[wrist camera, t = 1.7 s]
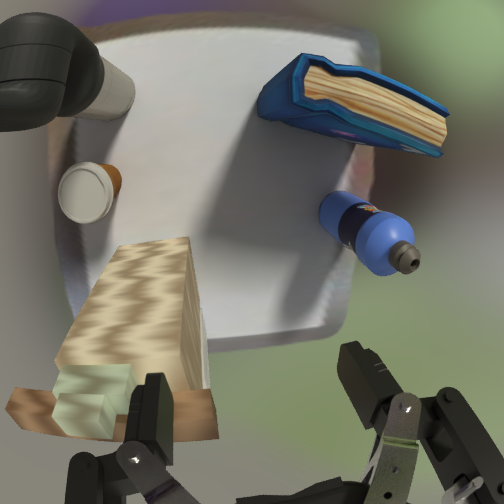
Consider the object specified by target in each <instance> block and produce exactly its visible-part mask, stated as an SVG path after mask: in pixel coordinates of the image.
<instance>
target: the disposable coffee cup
mask: <svg viewBox="0 0 504 504" xmlns="http://www.w3.org/2000/svg"><path fill="white" fill-rule="evenodd" d="M121 183H122V178H121V175H120V172H119V171H118V170H117V169H116V168H115V167H114V166H112V165H108V164H95V163H92V162H79V163H77V164H74V165H72V166H71V167H70V168H69V169H67V170H66V172H65V173H64V175H63V176H62V178H61V181H60V184H59V187H58V201H59V204H60V207H61V209H62V211H63V212H64V214H65V215H66V216H67V217H68V218H70V219H71V220H73V221H75V222H78V223H83V224H91V223H95V222H97V221H99V220H101V219H102V218H103V217H104V216H105V215H106V214H107V212H108V211H109V209H110V207H111V205H112V202H113V199H114V198H115V196H116V194H117V193H118V191H119V190H120V188H121Z"/></svg>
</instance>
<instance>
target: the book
mask: <svg viewBox="0 0 504 504" xmlns="http://www.w3.org/2000/svg"><path fill="white" fill-rule="evenodd" d="M257 106H258V117H260V118H263V119H266V120H269V121H277V120H280V121H282V122H284V123H286V124H288V125H290V126H292V127H295V128H299V129H303V130H307V131H311V132H315V133H319V134H322V135H326V136H330V137H334V138H337V139H341V140H345V141H348V142H352V143H355V144H361V145H368V146H375V147H382V148H389V149H394V150H401V151H406V152H411V153H417V154H422V155H427V156H432V157H436V158H439V157H440V156H441V155H443V152H442V150H441V148H440V147H441V145H442V143H443V141H444V139H445V137H446V135H447V130H446V123H445V117H447V116H449V115H450V114H449V112H448V110H447V108H445V107H444V106H442V105H441V104H439V103H437V102H436V101H434V100H432V99H430V98H429V97H427V96H425V95H423V94H422V93H420V92H418V91H416V90H414V89H412V88H410V87H408V86H406V85H404V84H402V83H400V82H397V81H395V80H393V79H391V78H388V77H386V76H383V75H381V74H379V73H376V72H374V71H371V70H368V69H366V68H363V67H360V66H352V65H342V64H334V63H333V62H332V61H330V60H328V59H327V58H325V57H324V56H319V55H313V54H306V53H301V54H300V55H298V56H297V57H296V58H295V59H294V60H293V61H291V62H290V63H289V64H288V65H287V66H286V67H284V68H283V69H282V70H281V71H280V72H279V73H278V74H276V75H275V76H274V77H273V78H272V79H271V80H270V81H269V82H268V83H267V84H265V85H264V87H263V89H262V91H261V93H260V96H259V98H258V100H257Z"/></svg>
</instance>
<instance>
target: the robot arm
mask: <svg viewBox="0 0 504 504" xmlns="http://www.w3.org/2000/svg"><path fill="white" fill-rule="evenodd" d="M134 98H135V86H134V83H133V81H132V79H131V78H130V77H129V76H128V75H126V74H125V73H124V72H122V71H121V70H120V69H118V68H117V67H116V66H114V65H113V64H111V63H110V62H109V61H107V60H106V59H104V58H103V57H101V56H100V55H99V51H98V49H97V47H96V46H95V45H94V44H93V43H92V42H91V41H90V40H89V39H88V38H87V37H86V36H85V35H84V34H83V33H82V32H81V31H80V30H79V29H78V28H77V27H76V26H74V25H73V24H72V23H70V22H68V21H67V20H65V19H63V18H61V17H58V16H55V15H51V14H47V13H39V12H32V13H24V14H19V15H16V16H13V17H11V18H9V19H7V20H5V21H4V22H2V23H1V24H0V132H11V131H22V130H28V129H33V128H37V127H40V126H43V125H45V124H47V123H49V122H51V121H52V120H53V119H54V118H55V117H56V116H57V117H74V118H87V119H97V120H113V119H117V118H119V117H121V116H122V115H123V114H125V113H126V112H127V111H128V110H129V108H130V107H131V105H132V103H133V101H134ZM337 373H338V377H339V379H340V381H341V383H342V385H343V387H344V389H345V391H346V393H347V395H348V396H349V398H350V400H351V402H352V404H353V406H354V408H355V410H356V412H357V414H358V416H359V418H360V420H361V422H362V423H363V425H364V427H365V429H366V430H367V429H370V428H372V427H374V429H375V431H376V436H375V440H374V443H373V446H372V450H371V453H370V456H369V459H368V462H367V465H366V467H365V470H364V472H363V474H362V476H361V478H360V481H359V482H355V481H342V480H341V477H337V478H333V479H330V480H326V481H323V482H320V483H316V484H314V485H312V486H310V487H308V488H306V489H304V490H302V491H300V492H297V493H295V494H293V495H287V496H286V495H283V496H282V495H258V496H251V497H244V498H237V499H236V502H237V503H236V504H410V503H407V502H406V501H407V498H408V494H409V491H410V487H411V483H412V479H413V475H414V470H415V465H416V461H417V455H418V450H419V445H418V444H416V440H420V442H421V444H422V446H423V448H424V450H425V452H426V454H427V455H428V458H429V459H430V462H431V463H432V465H433V467H434V469H435V471H436V473H437V475H438V478H439V480H440V482H441V484H442V486H443V488H444V490H445V493H444V495H443V497H442V504H504V458H503V456H502V455H501V453H500V452H499V450H498V448H497V447H496V445H495V443H494V442H493V440H492V439H491V437H490V435H489V434H488V432H487V431H486V429H485V428H484V426H483V425H482V423H481V422H480V420H479V419H478V417H477V416H476V414H475V413H474V411H473V410H472V408H471V407H470V406H469V404H468V403H467V401H466V400H465V399H464V397H463V396H462V394H461V393H460V392H459V391H458V390H457V389H455V388H452V387H445V388H443V389H441V390H439V392H438V393H437V395H436V396H434V397H426V398H418V397H417V396H416V395H413V394H412V393H407V392H403V390H402V389H401V387H400V386H399V385H398V383H397V382H396V380H395V379H394V377H393V376H392V375H391V373H390V372H389V370H387V367H386V366H385V364H384V363H383V362H382V360H381V359H380V357H379V356H378V354H376V353H374V352H373V351H372V350H370V349H369V348H368V349H365V350H364V349H363V348H362V346H361V344H360V343H359V342H358V341H353V342H349V343H345V344H342V345H341V347H340V353H339V359H338V364H337ZM128 411H129V413H128V417H127V423H126V430H125V437H124V442H123V444H122V445H120V446H119V448H118V449H117V451H115V452H114V453H111V454H107V455H103V456H98V457H95V456H94V455H92V454H91V453H88V452H80V453H77V454H75V455H74V456H73V457H72V458H71V460H70V462H69V468H68V476H67V485H66V493H65V504H126V496H127V495H131V494H136V493H139V492H140V493H141V494H142V495H143V497H144V498H145V501H146V502H147V504H200V503H199V502H198V501H197V500H196V499H195V498H194V497H193V496H192V495H191V494H190V493H189V492H188V491H187V490H186V489H185V488H184V487H183V486H182V485H181V484H180V483H179V482H178V481H177V480H175V479H174V478H173V477H172V476H171V475H170V473H169V472H168V471H167V470H166V466H168V465H169V466H171V465H173V421H174V400H173V395H172V392H171V390H170V387H169V385H168V382H167V379H166V377H165V374H164V373H163V372H157V373H147V374H146V378H145V384H144V385H137V386H136V387H135V389H134V390H133V392H132V393H131V399H130V405H129V410H128Z"/></svg>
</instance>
